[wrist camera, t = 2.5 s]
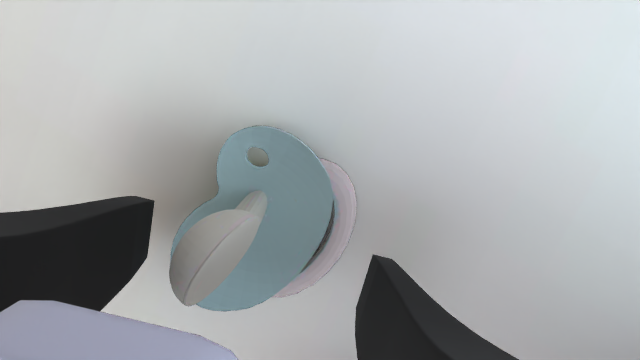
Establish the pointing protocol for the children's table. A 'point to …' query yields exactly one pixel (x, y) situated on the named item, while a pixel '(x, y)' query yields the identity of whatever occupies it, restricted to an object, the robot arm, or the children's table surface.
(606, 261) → the children's table surface
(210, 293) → the pacifier
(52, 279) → the robot arm
